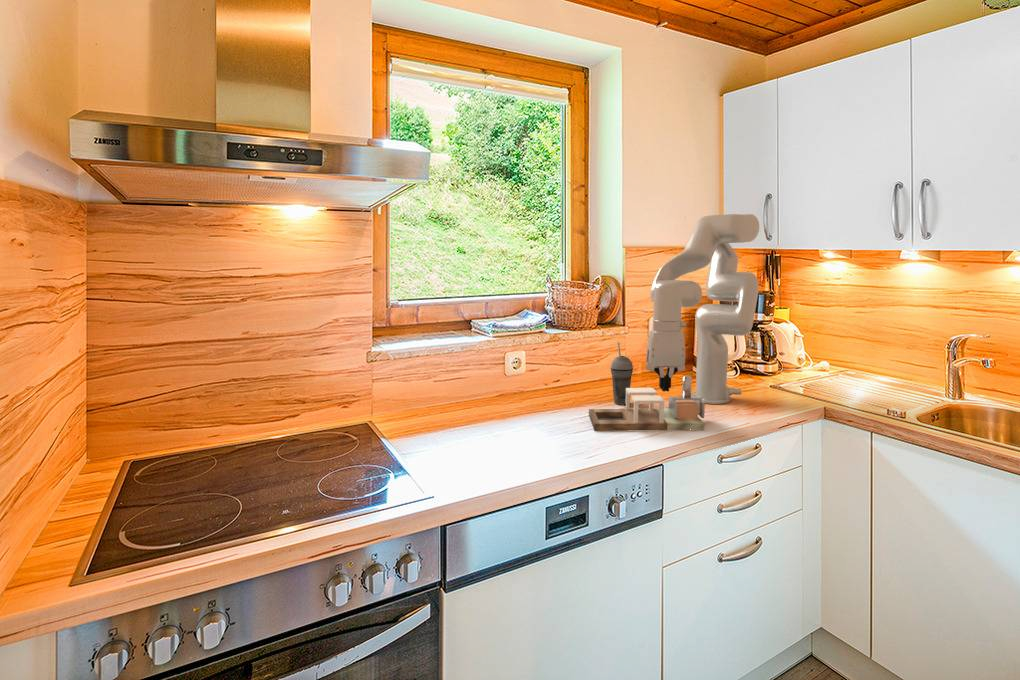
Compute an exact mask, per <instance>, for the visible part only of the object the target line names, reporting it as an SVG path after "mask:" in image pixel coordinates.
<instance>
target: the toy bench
mask: <svg viewBox="0 0 1020 680" xmlns="http://www.w3.org/2000/svg"><path fill="white" fill-rule="evenodd" d="M630 399H631V400H632V401H633V409H634V423H638V409H639V404H648V409H649V410H653V409H654V404H659V406H658V407H659V408H658V409H659V423H664V409H665V400H664V398H663V397H662V396H661V395H660V394H659V395H658V392H657V391H656V390H655V389H654V387H630V388H626V405H625V409H626V410H630V409H631V408H630V402H631V400H630Z"/></svg>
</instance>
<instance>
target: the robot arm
mask: <svg viewBox="0 0 1020 680" xmlns="http://www.w3.org/2000/svg"><path fill="white" fill-rule="evenodd" d="M759 232H760V222H759V220H758V218H757V216H756V215H755V214H751V213H747V214H746V213H744V214H738V213H737V214H736V213H731V214H715V215H714V214H713V215H710V214H709V215H705V216H702V217H700V218H699V219H698V220H697V221H696V223H695V225H694V228H693V230H692V231H691V234H690V236H689V238H688V240H687V243H686V245H685V247H684V249H683V250H682V251H681V252H680V253H678V254H676V255H675V256H673V257H671V259H669V260H668V261H667V262H665V263H664V264H663V265H662V266H661V267H660V268H659V270H658V271H657V273H656V276H655V278H654V280H653V282H652V285H651V287H650V298H651V301H652V302H653V318H652V319H653V320H652V321H653V322H652V330H649V334H648V338H647V339H648V340H647V346H646V354H645V355H646V358H645V359H646V367H645V368H646V370H647V371H650V372H655V373H656V374H657V375H658V376H659V379H658V387H659V388H660V390H661V391H662V392H670V389H671V388H672V378H673V376H674V375H675V374H676V373H677V372H681V371H685V370H686V366H685V363H686V345H685V337H684V331H682V329H683V328H687V322H686V321H685V322H684V321H683V320H682V309H683V308H693V307H695V306H697V305H698V304H699V303H700V302H701V300H702V297H703V289H702V287H701V285H700V284H699V283H698V282H696V281H692V280H680V279H679V278H680V277H682V276H685V275H687V274H690V273H693V272H696V271H698V270H702V269H704V268H705V267H707V266H708V265H709V267H708V273H707V278H706V283H705V284H706V285H705V296H706V297H707V298H708V299H709V300H713V301H717V302H718V301H719V302H720V301H721V302H737V303H738V304H724V303H723V304H722V303H706V304H701V306H699V307H698V308H697V309H696V312H695V315H694V317H695V318H694V321H695V326H696V327H695V328H696V335H697V336H696V339H697V343H696V344H697V345H696V369H695V370H696V372H695V373H696V374H695V375H696V377H695V392H691V397H695V396H698V397H701V398H702V401H703V402H705V404H710V405H721V404H727V403H730V402H731V401H732V397H731V396H732V395H736V396H737V395H742V393H743V391H742V389H741V388H735V387H729V386H728V385H727V382H728V381H727V380H728V379H727V378H728V361H729V358H728V357H729V347H728V343H727V341H726V339H725V338H724V336H723V335H727V336H738V337H739V336H740V337H741V336H747V335H749V334H750V333H751V330H752V328H753V325H754V320H755V313H756V308H757V302H758V298H759V289H760V288H759V285H760V284H759V280H758V277H757V276H756V274H754V273H753V272H750V271H738V264H739V256H738V254H737V252H736V251H735V249H734V247H732V245H731V244H739V243H740V244H741V243H742V244H743V243H750V242H753V241H754V240H755V239H756V238H757V236H758V234H759ZM676 279H677V280H676ZM678 279H679V280H678ZM665 368H667V369H666V373H665V370H664V369H665ZM694 401H695V400H694Z"/></svg>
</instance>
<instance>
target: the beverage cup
mask: <svg viewBox="0 0 1020 680" xmlns="http://www.w3.org/2000/svg"><path fill="white" fill-rule="evenodd" d="M620 345H621V344H620V342H619V341H618V342H617V346H618V347H617V349H618V356H617V357H615V358H614V359H613V360H612V362H611V364H610V372H611V377H612V379H611V380H612V391H613V393H612V394H613V401H614V402H613V404H615V405H617V404H619V406H625V405H624V404H626V388H631V385H632V384H631V382H632V375H633V371H634V367H633V365H634V364H633V362H632V360H631V359H630V358H629V357H627V356H626V355H625V356H624V355H621V354H622V353H621V347H620Z"/></svg>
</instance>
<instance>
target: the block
mask: <svg viewBox="0 0 1020 680" xmlns="http://www.w3.org/2000/svg"><path fill="white" fill-rule="evenodd" d="M675 401H676V402H677V418H676V419H697V418H699V415H698V404H697V403H696V402H695V401H694V400H675Z"/></svg>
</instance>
